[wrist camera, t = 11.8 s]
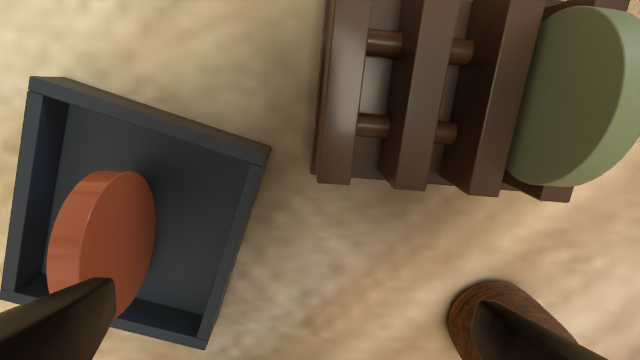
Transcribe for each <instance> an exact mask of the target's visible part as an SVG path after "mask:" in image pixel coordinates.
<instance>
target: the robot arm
mask: <svg viewBox="0 0 640 360" xmlns="http://www.w3.org/2000/svg"><path fill="white" fill-rule="evenodd" d="M115 314H116V292H115V282H114V280H113V279H112V278H106V277H92V278H90V279H87V280H85V281H82V282H79V283H77V284H74V285H72V286H69V287H66V288H64V289H61V290H59V291H56V292H53V293H51V294H48V295H46V296H43V297H40V298H38V299H35V300H33V301H30V302H27V303H25V304H22V305H20V306H17V307H14V308H12V309H9V310H7V311H4V312H1V313H0V360H92V359H93V357H94V355H95V353H96V351H97V350H98V348H99V346H100V344H101V342H102V340H103V338H104V336H105V335H106V333H107V331H108V329H109V327H110V325H111V323H112V322H113V320H114V317H115ZM471 336H472V339H473V342H474V344H475V347H476V349H477V352H478V354H479V357H480V359H481V360H608V359H606V358H604V357H602V356H600V355H598V354H596V353H595V352H593V351H591V350H589V349H587V348H585V347H583V346H581V345H579V344H577V343H576V342H574V341H572V340H570V339H568V338H566V337H564V336H562V335H560V334H558V333H557V332H555V331H553V330H551V329H549V328H547V327H545V326H543V325H541V324H539V323H538V322H536V321H534V320H532V319H530V318H528V317H526V316H524V315H522V314H520V313H519V312H517V311H515V310H513V309H511V308H509V307H507V306H505V305H503V304H501V303H500V302H498V301H495V300H479V301H478V302H477V304H476V307H475V311H474V315H473V319H472V324H471Z"/></svg>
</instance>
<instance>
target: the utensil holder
mask: <svg viewBox="0 0 640 360" xmlns="http://www.w3.org/2000/svg"><path fill="white" fill-rule="evenodd" d="M479 300H495V301H498V302H500V303H501V304H503V305H505V306H507V307H509V308H511V309H513V310H515V311H517V312H519V313H520V314H522V315H524V316H526V317H528V318H530V319H532V320H534V321H536V322H538V323H539V324H541V325H543V326H545V327H547V328H549V329H551V330H553V331H555V332H557V333H558V334H560V335H562V336H564V337H566V338H568V339H570V340H572V341H574V342H576V343H577V341H576V340H575V339H574V337H573V336H572V335H571V334H570V333H569V332H568V331H567V330H566V329H565V328H564V327H563V326H562V325H561V324H560V323H559V322H558V321H557V320H556V319H555V318H554V317H553V316H552V315H551V314H550V313H549V312H548V311H546V310H545V309H544V308H543V307H542V306H541V305H540V304H539V303H538V302H537V301H535V300H534V299H533V298H532V297H531V296H530V295H528V294H527V293H526V292H525V291H523V290H522V289H520V288H518V287H517V286H515V285H512V284H509V283H506V282H500V281H491V282H485V283H481V284H478V285H475V286H473V287H471V288H470V289H468V290H467V291H465V292H464V293H463V294H462V295H460V296H459V298H458V299H457V300H456V301H455V303H454V304H453V306H452V308H451V310H450V313H449V318H448V329H449V334H450V337H451V339H452V342H453V344H454V346H455V348H456V350H457V351H458V353H459V355H460V357H461V358H462V360H481V359H480V357H479V354H478V352H477V349H476V347H475V344H474V342H473V339H472V336H471V324H472V319H473V315H474V311H475V307H476V304H477V302H478V301H479ZM577 344H578V343H577Z"/></svg>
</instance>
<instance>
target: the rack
mask: <svg viewBox="0 0 640 360" xmlns="http://www.w3.org/2000/svg"><path fill="white" fill-rule="evenodd" d="M629 2H630V0H567V1H561V0H325V8H324V20H323V31H322V42H321V53H320V64H319V75H318V86H317V97H316V108H315V119H314V130H313V141H312V152H311V163H310V173H311V174H315V175H316V177H317V182H318V183H325V184H337V185H350V181H351V177H352V178H364V179H376V180H387V182H388V183H389V184H390V185H391V186H392V187H393V188H394V189H400V190H412V191H425V189H426V184H437V185H449V186H455V187H457V188H458V189H460V190H462V191H463V192H465V193H466V194H468V195H475V196H487V197H498V196H499V192H500V190H510V191H521V192H523V193H525V194H527V195H529V196H532V197H534V198H536V199H538V200H540V201H551V202H563V203H568V202H569V201H570V198H571V195H572V191H573V188H574V186H572V187H555V186H543V185H533V184H528V183H525V182H522V181H520V180H518V179H517V178H515V177H514V176H513V175H511V174H510V173H509V171H508V170H507V169H506V168H505V167H506V163H507V159H508V155H509V151H510V147H511V143H512V139H513V135H514V130H515V126H516V122H517V118H518V114H519V110H520V106H521V102H522V98H523V93H524V89H525V85H526V81H527V77H528V73H529V69H530V65H531V61H532V56H533V52H534V48H535V44H536V40H537V36H538V32H539V28H540V24H541V22H543V21H544V20H545V19H547V18H548V17H550V16H551V15H553V14H555V13H557V12H559V11H561V10H564V9H566V8H570V7H575V6H592V7H600V8H609V9H616V10H621V11H625V12H627V9H628V5H629Z"/></svg>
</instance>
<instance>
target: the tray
mask: <svg viewBox="0 0 640 360" xmlns="http://www.w3.org/2000/svg"><path fill="white" fill-rule="evenodd" d="M28 90H30V91H27V99H26V106H25V113H24V121H23V128H22V136H21V143H20V150H19V158H18V165H17V172H16V180H15V187H14V195H13V202H12V209H11V217H10V224H9V231H8V239H7V246H6V254H5V261H4V268H3V276H2V283H1V290H0V300H4V301H8V302H12V303H16V304H20V305H22V304H25V303H27V302H30V301H33V300H35V299H38V298H40V297H43V296H46V295H48V294H50V293H49V289H48V284H47V272H46V266H47V253H48V246H49V241H50V237H51V233H52V230H53V226H54V223H55V221H56V218H57V216H58V213H59V211H60V209H61V207H62V205H63V203H64V201H65V200H66V198H67V197H68V195H69V194H70V192H71V191H72V190H73V189H74V187H75V186H76V185H77V184H78V183H79V182H80V181H81V180H82V179H83V178H85V177H86V176H87V175H89V174H91V173H93V172H95V171H98V170H102V169H111V170H123V171H133V172H136V173H138V174H140V175H141V176H142V177H144V179H145V180H146V181H147V183H148V185H149V187H150V189H151V192H152V195H153V199H154V204H155V213H156V229H155V240H154V246H153V251H152V256H151V260H150V264H149V267H148V270H147V273H146V275H145V278H144V281H143V283H142V285H141V287H140V289H139V291H138V293H137V295H136V296H135V298H134V299H133V301H132V302H131V304H130V305H129V306H128V307H127V309H126V310H125V311H124V312H123V313H122V314H120V315H119V316H118V317H116V318H115V319H114V320H113V322H112V323H111V325H110V327H112V328H116V329H120V330H124V331H128V332H132V333H136V334H141V335H145V336H149V337H153V338H157V339H161V340H165V341H169V342H173V343H177V344H181V345H185V346H189V347H193V348H197V349H201V350H205V349H206V346H207V344H208V341H209V338H210V336H211V333H212V330H213V328H214V325H215V322H216V319H217V316H218V313H219V310H220V307H221V304H222V300H223V297H224V294H225V291H226V288H227V285H228V282H229V279H230V276H231V272H232V269H233V266H234V263H235V260H236V257H237V254H238V251H239V247H240V244H241V241H242V238H243V235H244V232H245V229H246V226H247V222H248V219H249V216H250V213H251V210H252V207H253V204H254V201H255V198H256V194H257V191H258V188H259V185H260V182H261V179H262V176H263V173H264V169H265V166H266V163H267V160H268V157H269V154H270V151H271V147H270V146H267V145H264V144H261V143H258V142H255V141H252V140H249V139H247V138H244V137H241V136H238V135H235V134H232V133H229V132H226V131H223V130H220V129H217V128H214V127H211V126H208V125H205V124H202V123H199V122H196V121H193V120H190V119H187V118H184V117H181V116H178V115H175V114H172V113H169V112H166V111H163V110H160V109H157V108H154V107H151V106H148V105H145V104H143V103H140V102H137V101H134V100H131V99H128V98H125V97H122V96H119V95H116V94H113V93H110V92H107V91H104V90H101V89H98V88H95V87H92V86H89V85H86V84H83V83H80V82H77V81H74V80H71V79H68V78H65V77H40V76H31V77H30V80H29V87H28Z"/></svg>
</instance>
